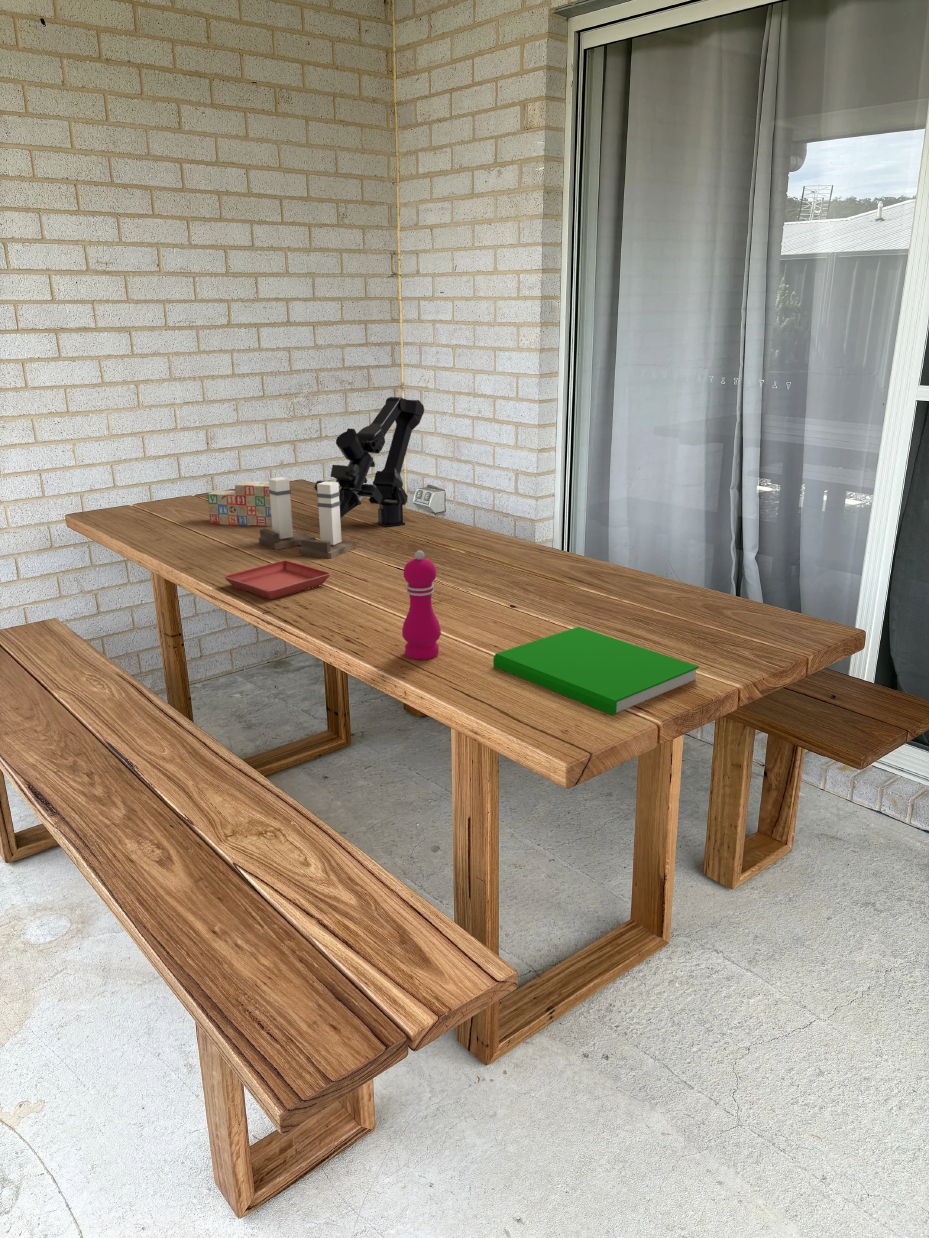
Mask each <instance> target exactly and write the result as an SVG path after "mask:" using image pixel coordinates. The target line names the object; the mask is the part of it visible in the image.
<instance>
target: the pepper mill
mask: <svg viewBox="0 0 929 1238" xmlns="http://www.w3.org/2000/svg"><path fill="white" fill-rule="evenodd" d="M436 577H437V569H436V566H435V564H434V563H433V562H432V561H431V560H430V559H427V558H425V552H423V551H422V550H417V551H415V553H414V558H413V559H411V560H409V561H408V562H406V564H405V566H404V568H403V578H404V580H405V581H406V582H407V584H406V593H407V594H408V595H409V608H408V612H407V614H406V617H405V619H404V621H403V625H402V630H401V631H402V632H401V636H402V638H403V639H404V641H405V642H406V644H405V645H404V647H405V648H404V650H405V651H404V652H405V653H404V654H405V656H406V658H409V659H413V660H429V659H433V658H435V657H438V655H439V649H440V648H439V643H438V642H437V641H438V640H439V639H440V637H441V634H442V631H441V624H440V622H439V619H438V618H437V616H436V614H435V612H434V609H433V605H432V604H433V603H432V594H434V593H435V589H434V588H435V585H434V584H433V582H434V581H435V580H436Z"/></svg>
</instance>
